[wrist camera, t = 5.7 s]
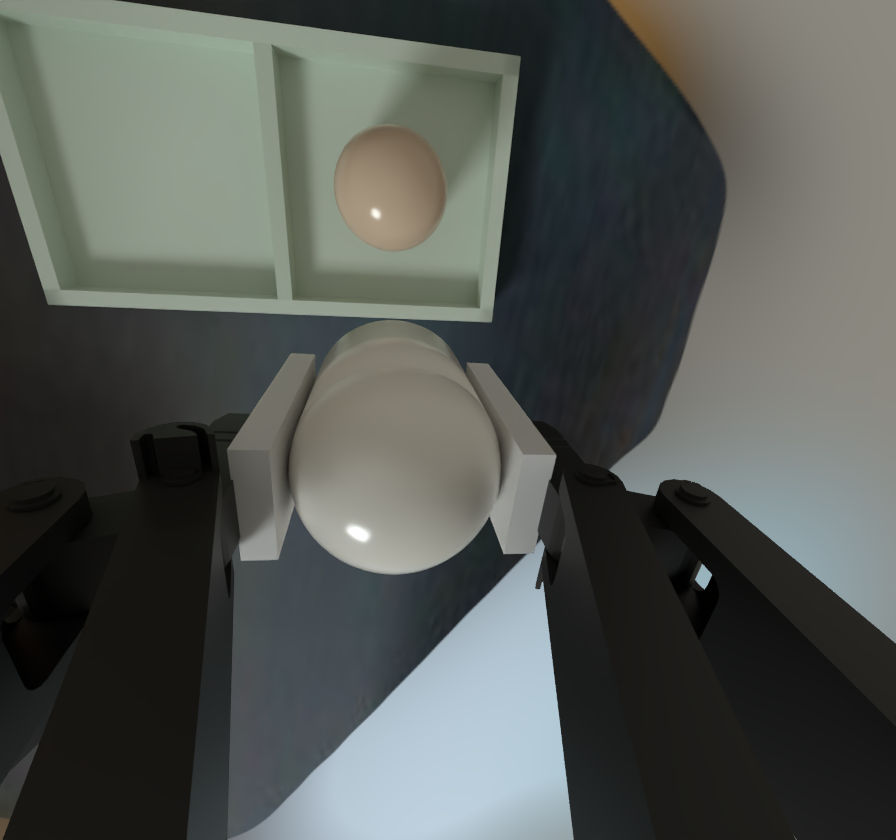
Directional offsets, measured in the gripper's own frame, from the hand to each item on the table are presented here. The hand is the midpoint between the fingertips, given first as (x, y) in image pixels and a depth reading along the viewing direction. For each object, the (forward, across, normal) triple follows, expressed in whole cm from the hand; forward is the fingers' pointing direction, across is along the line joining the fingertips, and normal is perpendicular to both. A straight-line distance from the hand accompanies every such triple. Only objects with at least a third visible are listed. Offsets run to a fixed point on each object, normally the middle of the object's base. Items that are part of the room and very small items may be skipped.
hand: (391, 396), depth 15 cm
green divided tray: (+14, -6, +7) cm, 17 cm away
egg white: (0, 0, 0) cm, 0 cm away
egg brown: (+14, 0, +7) cm, 15 cm away
